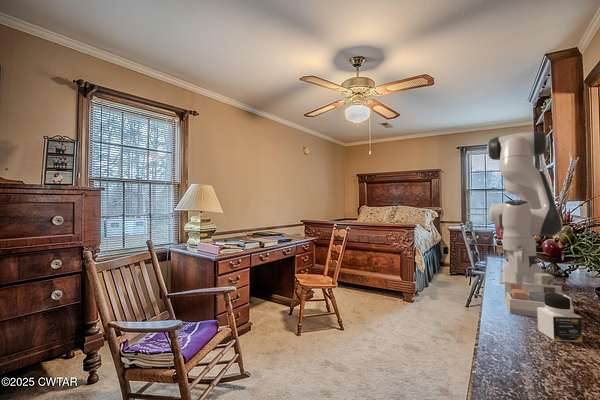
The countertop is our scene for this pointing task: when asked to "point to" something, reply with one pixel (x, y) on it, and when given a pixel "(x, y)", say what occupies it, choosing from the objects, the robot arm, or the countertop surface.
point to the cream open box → (527, 306)
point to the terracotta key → (519, 294)
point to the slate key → (536, 296)
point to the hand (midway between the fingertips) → (519, 283)
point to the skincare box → (544, 279)
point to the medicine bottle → (559, 319)
